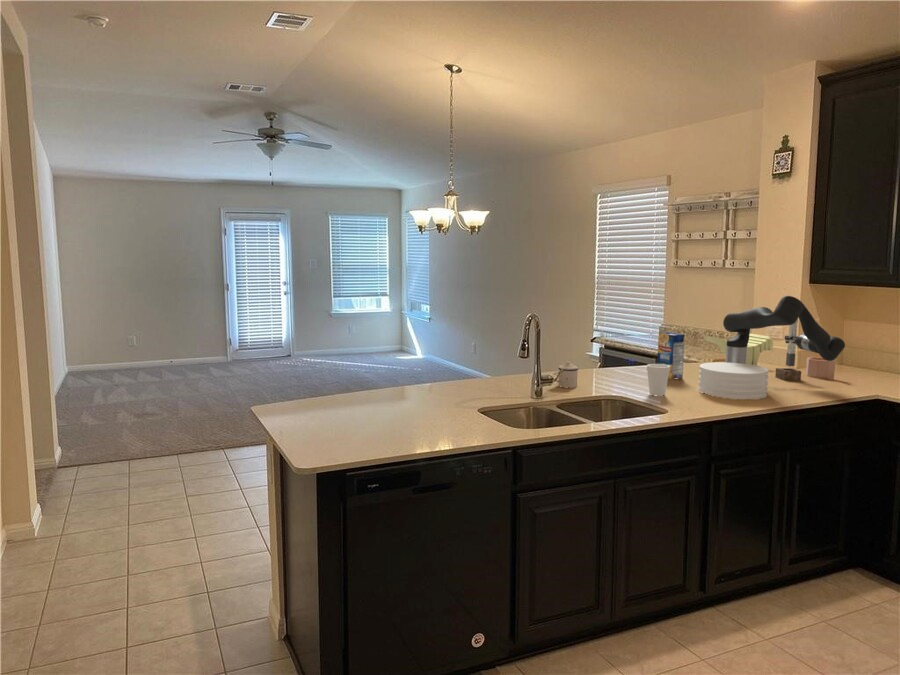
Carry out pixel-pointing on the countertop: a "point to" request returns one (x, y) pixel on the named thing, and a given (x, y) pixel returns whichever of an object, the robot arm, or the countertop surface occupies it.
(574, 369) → the teacup with lid
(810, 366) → the utensil crock
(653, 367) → the foam cup
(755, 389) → the plate stack
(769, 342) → the slatted curved stool
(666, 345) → the beverage box
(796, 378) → the tong rest
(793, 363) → the tongs
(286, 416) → the countertop surface
